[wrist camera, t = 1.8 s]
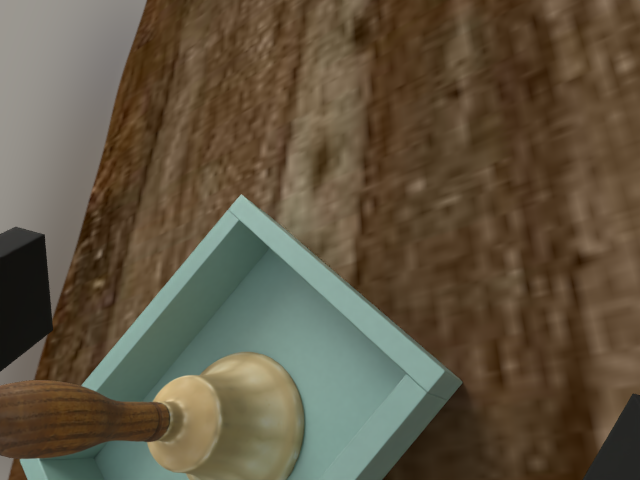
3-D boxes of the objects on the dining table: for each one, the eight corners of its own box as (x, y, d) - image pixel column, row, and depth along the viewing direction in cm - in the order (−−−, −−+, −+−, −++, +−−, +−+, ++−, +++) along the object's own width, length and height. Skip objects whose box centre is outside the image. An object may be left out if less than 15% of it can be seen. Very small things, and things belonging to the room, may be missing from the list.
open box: (277, 222, 33) (240, 193, 29) (463, 382, 24) (445, 370, 21) (80, 458, 33) (18, 459, 29) (199, 700, 24) (134, 746, 21)
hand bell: (331, 395, 26) (95, 346, 13) (256, 542, 25) (-85, 653, 12) (226, 329, 31) (-31, 240, 17) (159, 451, 30) (-172, 458, 16)
